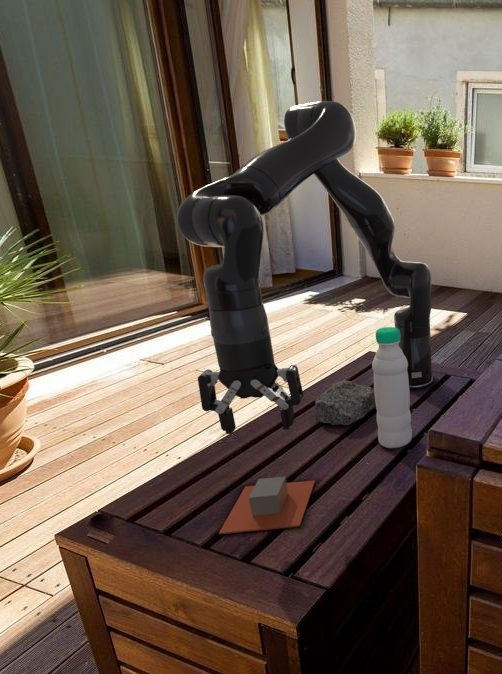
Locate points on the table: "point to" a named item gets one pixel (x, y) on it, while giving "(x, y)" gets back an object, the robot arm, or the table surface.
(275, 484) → the cube
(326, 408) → the rock
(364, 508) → the table surface
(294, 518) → the mat
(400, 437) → the water bottle
